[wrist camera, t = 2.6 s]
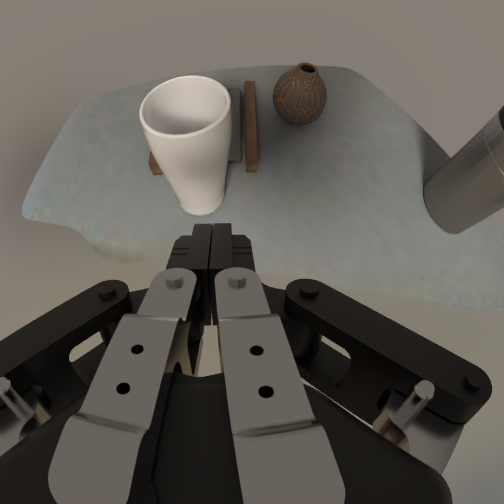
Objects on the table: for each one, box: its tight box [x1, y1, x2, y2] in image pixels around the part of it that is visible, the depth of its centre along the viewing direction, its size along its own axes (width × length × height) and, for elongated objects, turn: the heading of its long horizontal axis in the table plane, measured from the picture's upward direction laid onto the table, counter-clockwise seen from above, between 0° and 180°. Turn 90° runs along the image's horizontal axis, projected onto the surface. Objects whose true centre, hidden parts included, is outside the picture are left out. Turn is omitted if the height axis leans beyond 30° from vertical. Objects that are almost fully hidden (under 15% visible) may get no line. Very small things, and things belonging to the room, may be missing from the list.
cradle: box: [149, 81, 258, 175], centre depth 34 cm, size 12×14×2 cm
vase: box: [273, 63, 327, 125], centre depth 33 cm, size 7×7×9 cm
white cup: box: [139, 76, 232, 216], centre depth 25 cm, size 7×7×15 cm
